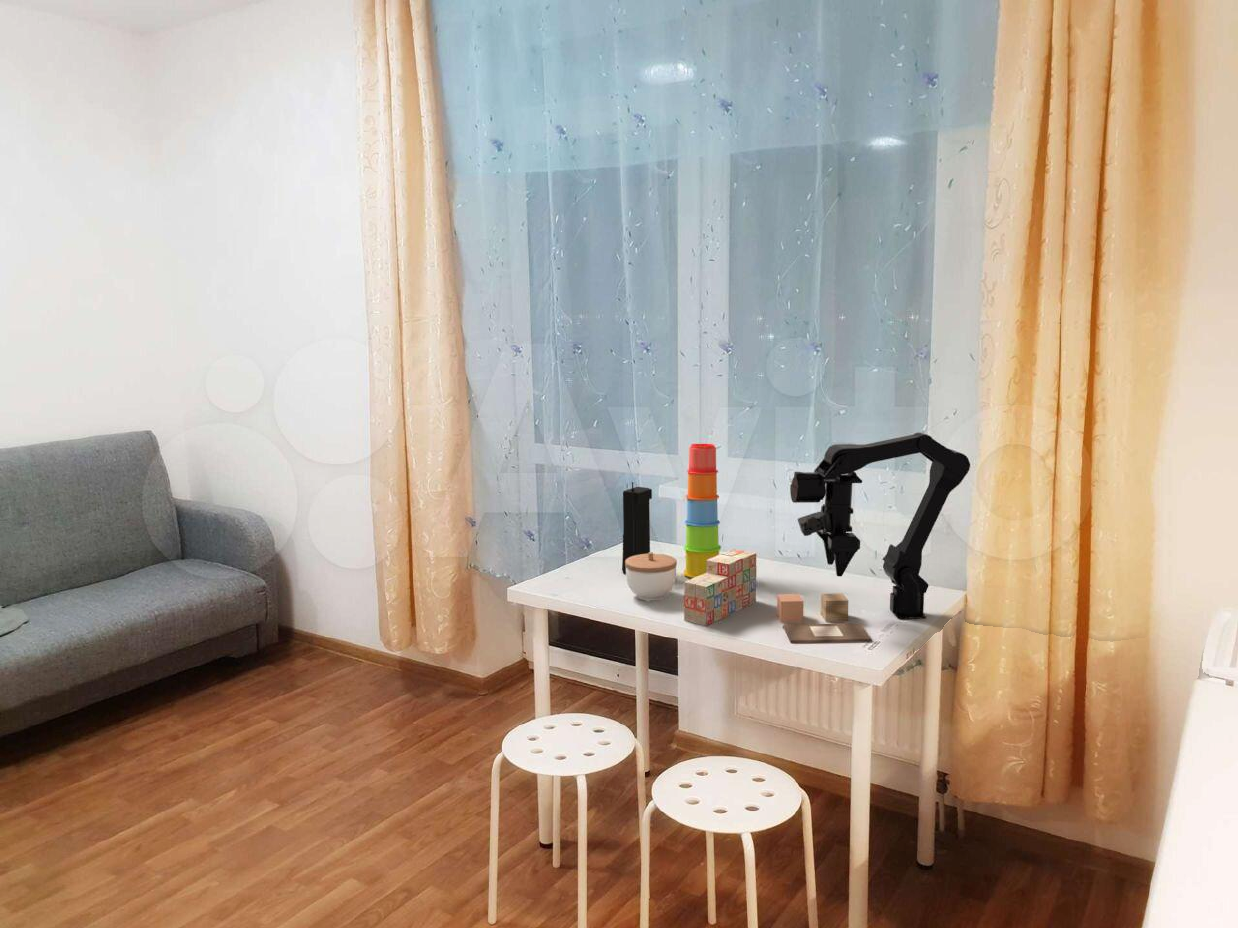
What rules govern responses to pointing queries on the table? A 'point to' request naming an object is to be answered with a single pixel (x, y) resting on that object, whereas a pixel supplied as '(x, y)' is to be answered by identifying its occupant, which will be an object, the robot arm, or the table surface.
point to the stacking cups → (701, 510)
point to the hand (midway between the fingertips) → (834, 570)
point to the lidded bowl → (651, 575)
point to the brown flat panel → (826, 633)
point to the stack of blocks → (721, 587)
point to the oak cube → (834, 607)
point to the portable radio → (636, 522)
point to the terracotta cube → (789, 608)
